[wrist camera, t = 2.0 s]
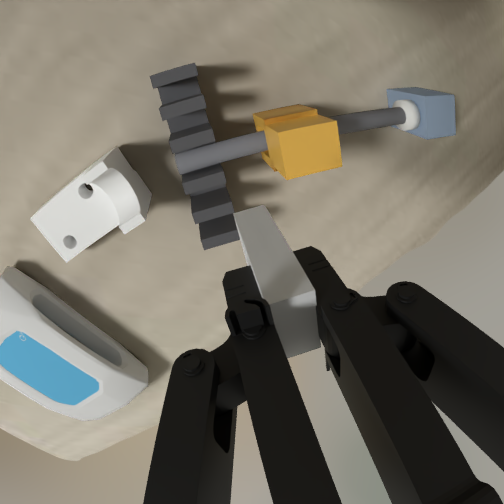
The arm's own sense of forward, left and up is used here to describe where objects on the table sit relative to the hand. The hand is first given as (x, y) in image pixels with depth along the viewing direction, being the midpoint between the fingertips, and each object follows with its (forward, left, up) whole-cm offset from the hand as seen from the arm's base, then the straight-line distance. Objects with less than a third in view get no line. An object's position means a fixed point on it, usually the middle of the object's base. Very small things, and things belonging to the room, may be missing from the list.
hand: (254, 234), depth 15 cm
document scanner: (+22, -35, -22) cm, 47 cm away
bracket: (+2, -16, -22) cm, 27 cm away
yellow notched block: (0, +7, -19) cm, 20 cm away
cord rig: (0, +11, -22) cm, 24 cm away
